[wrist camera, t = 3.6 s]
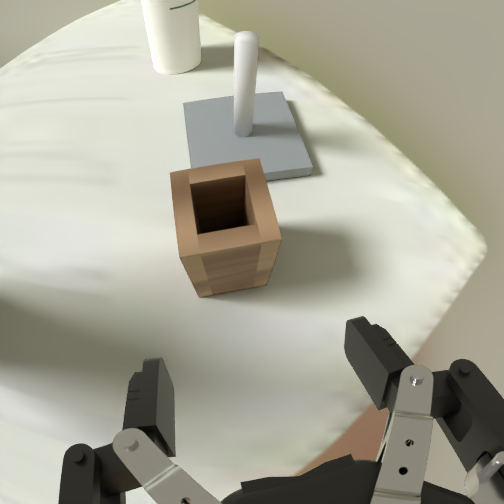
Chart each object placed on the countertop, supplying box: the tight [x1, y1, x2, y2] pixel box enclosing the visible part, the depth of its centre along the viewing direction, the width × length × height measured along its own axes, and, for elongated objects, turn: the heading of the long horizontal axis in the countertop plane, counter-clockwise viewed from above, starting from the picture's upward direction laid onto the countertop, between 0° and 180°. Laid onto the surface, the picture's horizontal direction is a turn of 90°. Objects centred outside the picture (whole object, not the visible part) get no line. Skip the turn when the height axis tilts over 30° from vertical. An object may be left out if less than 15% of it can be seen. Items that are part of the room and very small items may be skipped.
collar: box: [170, 158, 282, 297], centre depth 24 cm, size 6×6×10 cm
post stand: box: [183, 31, 313, 181], centre depth 27 cm, size 12×12×14 cm
